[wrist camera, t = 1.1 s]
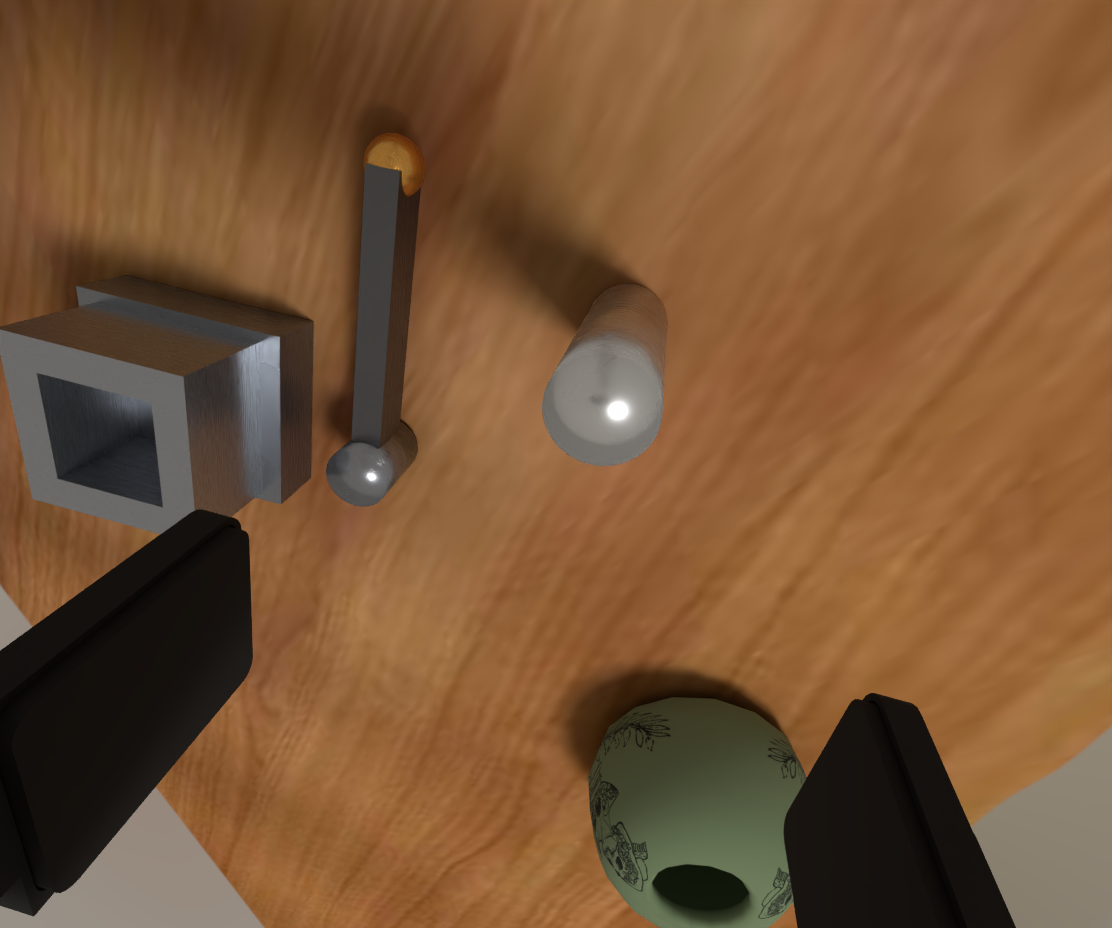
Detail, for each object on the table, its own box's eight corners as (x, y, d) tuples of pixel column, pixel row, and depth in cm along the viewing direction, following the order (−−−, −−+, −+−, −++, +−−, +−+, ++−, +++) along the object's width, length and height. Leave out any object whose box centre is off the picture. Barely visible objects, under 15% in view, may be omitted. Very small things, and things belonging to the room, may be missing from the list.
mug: (604, 661, 38) (586, 791, 30) (829, 701, 36) (870, 849, 28) (580, 830, 45) (560, 970, 37) (767, 870, 43) (786, 1024, 36)
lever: (381, 126, 27) (336, 122, 23) (449, 142, 26) (414, 140, 23) (362, 461, 34) (325, 497, 31) (415, 475, 34) (384, 513, 30)
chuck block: (126, 275, 32) (-32, 309, 25) (313, 321, 31) (206, 370, 24) (145, 434, 36) (14, 502, 29) (310, 477, 35) (219, 559, 28)
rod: (597, 275, 28) (554, 339, 18) (677, 293, 28) (677, 370, 18) (580, 352, 30) (532, 449, 20) (655, 370, 29) (644, 478, 20)
